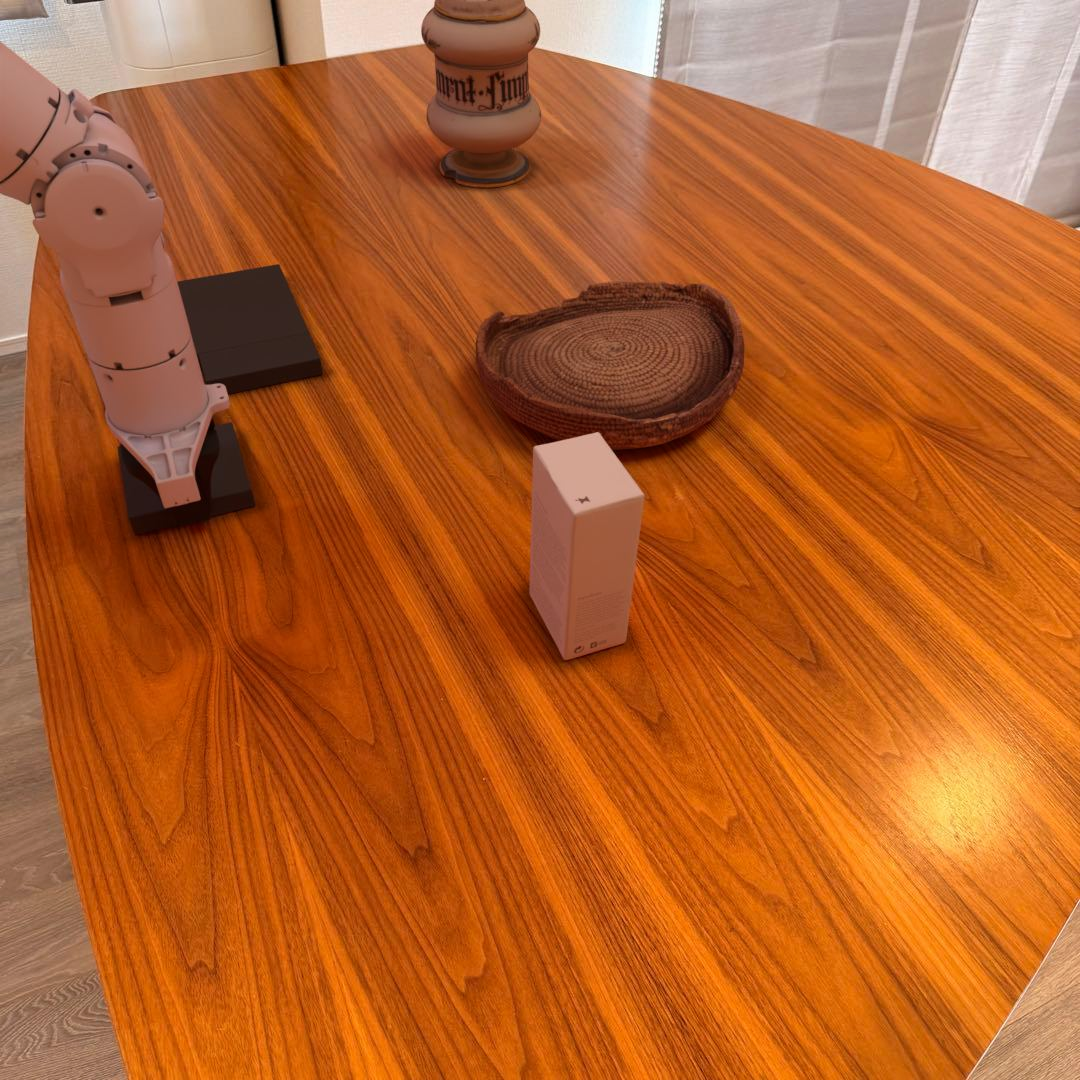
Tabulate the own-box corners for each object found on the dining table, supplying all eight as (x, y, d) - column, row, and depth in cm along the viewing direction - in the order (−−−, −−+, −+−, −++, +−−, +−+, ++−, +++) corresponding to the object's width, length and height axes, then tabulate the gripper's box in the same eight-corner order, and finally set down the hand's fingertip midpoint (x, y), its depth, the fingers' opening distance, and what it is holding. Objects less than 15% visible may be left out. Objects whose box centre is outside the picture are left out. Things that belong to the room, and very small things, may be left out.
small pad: (134, 535, 65) (128, 518, 63) (118, 434, 72) (112, 416, 71) (256, 506, 67) (251, 489, 66) (228, 411, 74) (223, 393, 73)
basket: (615, 285, 89) (619, 234, 86) (797, 379, 79) (810, 326, 76) (425, 382, 78) (421, 328, 74) (609, 506, 68) (615, 451, 64)
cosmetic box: (628, 644, 59) (648, 496, 50) (563, 663, 58) (572, 516, 49) (588, 575, 63) (600, 428, 54) (526, 592, 62) (529, 445, 53)
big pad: (114, 418, 74) (108, 401, 72) (96, 312, 84) (91, 296, 83) (323, 374, 78) (320, 358, 77) (282, 279, 89) (279, 263, 87)
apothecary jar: (406, 168, 106) (392, -16, 93) (484, 136, 112) (480, -40, 100) (485, 203, 100) (481, 13, 88) (562, 168, 107) (569, -15, 94)
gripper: (232, 398, 51) (276, 575, 61) (193, 269, 61) (236, 439, 70) (91, 427, 49) (159, 605, 59) (73, 289, 59) (134, 461, 68)
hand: (194, 517), depth 64 cm, fingers closed
